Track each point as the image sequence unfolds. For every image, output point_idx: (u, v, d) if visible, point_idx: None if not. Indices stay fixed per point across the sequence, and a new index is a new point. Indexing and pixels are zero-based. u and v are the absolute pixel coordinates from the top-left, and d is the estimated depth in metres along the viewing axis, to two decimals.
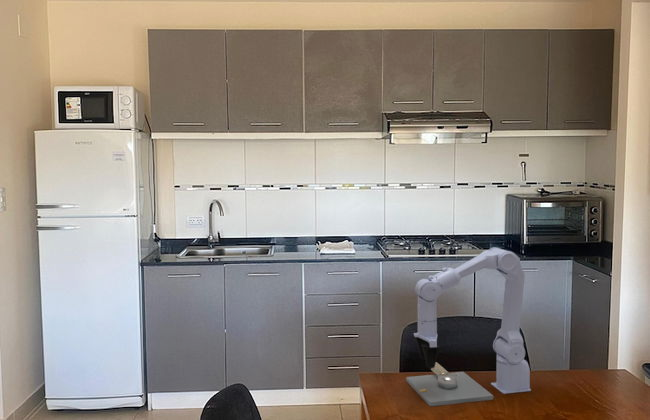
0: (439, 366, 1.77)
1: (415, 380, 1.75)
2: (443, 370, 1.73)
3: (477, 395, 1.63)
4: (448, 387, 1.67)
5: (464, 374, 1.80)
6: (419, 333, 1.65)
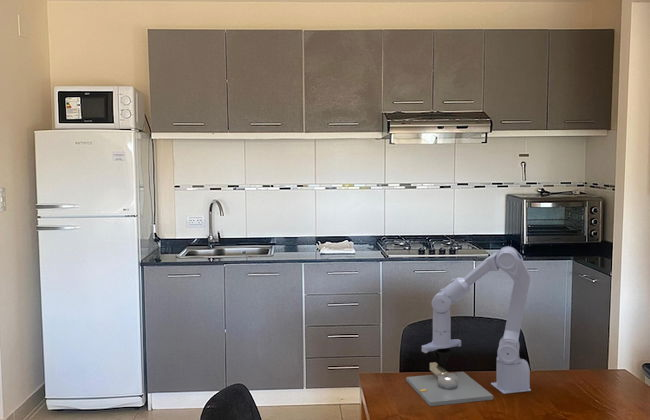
0: (439, 366, 1.77)
1: (415, 380, 1.75)
2: (443, 370, 1.73)
3: (477, 395, 1.63)
4: (448, 387, 1.67)
5: (464, 374, 1.80)
6: None
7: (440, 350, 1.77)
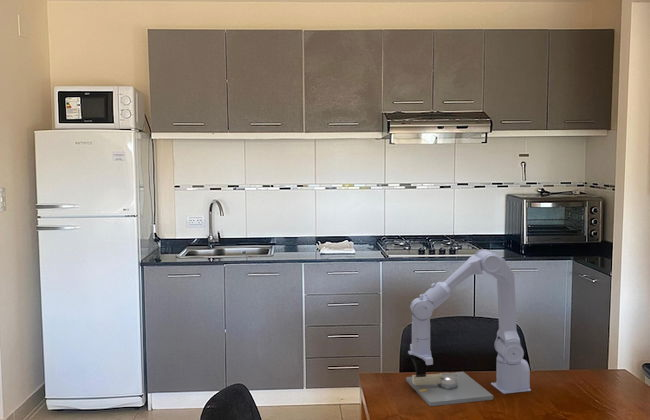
0: (425, 375, 1.70)
1: None
2: (437, 374, 1.70)
3: (477, 395, 1.63)
4: (457, 384, 1.70)
5: (464, 374, 1.80)
6: (414, 351, 1.69)
7: None
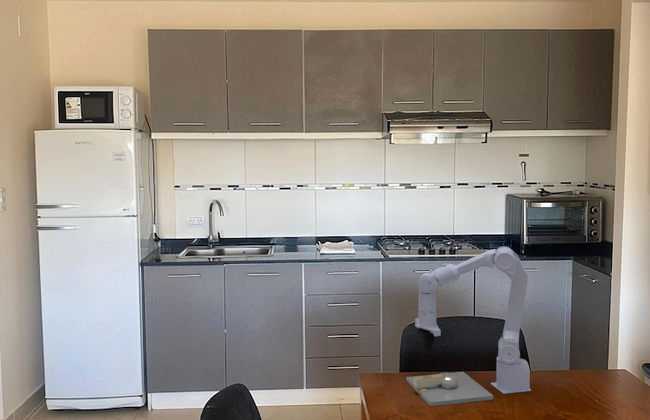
0: (426, 376, 1.69)
1: None
2: (437, 375, 1.69)
3: (477, 395, 1.63)
4: None
5: (464, 374, 1.80)
6: (421, 324, 1.76)
7: None
